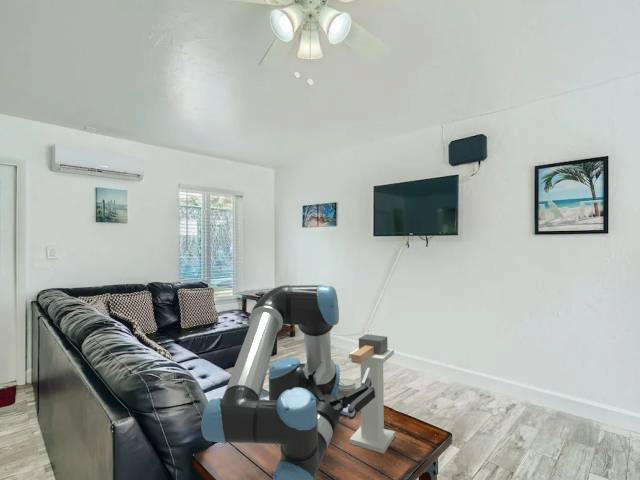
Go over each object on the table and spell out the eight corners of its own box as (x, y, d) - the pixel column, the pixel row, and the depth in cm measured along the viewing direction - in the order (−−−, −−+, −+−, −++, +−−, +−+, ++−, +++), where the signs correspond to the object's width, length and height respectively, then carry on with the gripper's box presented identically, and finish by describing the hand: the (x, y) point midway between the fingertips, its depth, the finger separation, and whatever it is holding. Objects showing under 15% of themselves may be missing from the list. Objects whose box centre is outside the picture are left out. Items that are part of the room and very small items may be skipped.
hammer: (367, 365, 104) (367, 350, 104) (344, 361, 108) (344, 346, 108) (387, 349, 120) (387, 336, 121) (366, 346, 124) (366, 334, 124)
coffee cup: (336, 406, 142) (335, 377, 143) (356, 407, 141) (356, 378, 141) (334, 416, 134) (333, 385, 134) (355, 417, 133) (355, 386, 133)
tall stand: (383, 453, 109) (382, 358, 110) (349, 443, 115) (348, 353, 116) (394, 435, 119) (393, 349, 120) (363, 427, 125) (362, 345, 126)
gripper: (273, 429, 83) (307, 375, 102) (373, 450, 73) (390, 386, 92) (268, 403, 81) (304, 353, 100) (370, 421, 72) (388, 362, 91)
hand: (345, 369), depth 96 cm, fingers open, 13 cm apart
